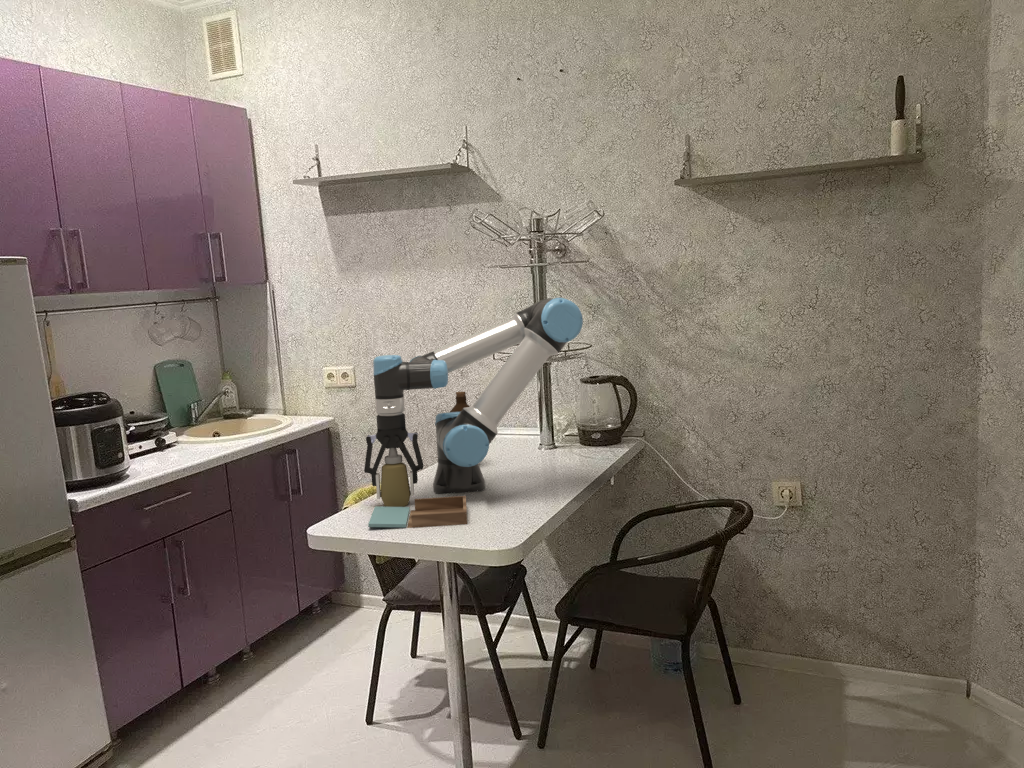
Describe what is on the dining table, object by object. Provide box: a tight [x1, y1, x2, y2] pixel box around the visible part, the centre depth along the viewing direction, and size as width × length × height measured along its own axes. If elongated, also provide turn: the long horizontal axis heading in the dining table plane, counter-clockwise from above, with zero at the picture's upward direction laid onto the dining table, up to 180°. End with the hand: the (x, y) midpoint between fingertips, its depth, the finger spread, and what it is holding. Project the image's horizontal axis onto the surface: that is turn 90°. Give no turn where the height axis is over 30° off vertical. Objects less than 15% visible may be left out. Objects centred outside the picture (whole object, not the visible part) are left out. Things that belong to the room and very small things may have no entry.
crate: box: [406, 495, 468, 529], centre depth 193 cm, size 15×15×4 cm
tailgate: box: [367, 506, 411, 528], centre depth 192 cm, size 15×1×9 cm
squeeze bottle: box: [380, 448, 411, 507], centre depth 205 cm, size 8×8×18 cm
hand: (395, 496), depth 206 cm, fingers open, 8 cm apart
